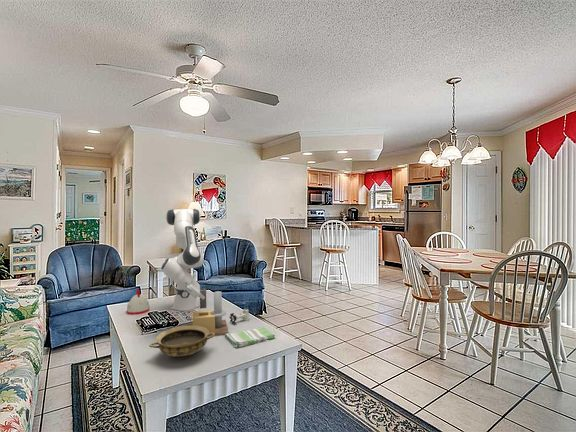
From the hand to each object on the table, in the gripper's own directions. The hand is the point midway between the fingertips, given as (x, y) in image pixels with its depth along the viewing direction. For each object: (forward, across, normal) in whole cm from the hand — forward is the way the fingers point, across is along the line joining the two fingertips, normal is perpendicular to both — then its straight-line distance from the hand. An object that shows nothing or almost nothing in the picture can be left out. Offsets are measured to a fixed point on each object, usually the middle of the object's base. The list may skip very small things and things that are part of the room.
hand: (204, 297), depth 179 cm
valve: (+29, +8, -2) cm, 30 cm away
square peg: (+4, 0, +5) cm, 6 cm away
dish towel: (+31, -18, -2) cm, 36 cm away
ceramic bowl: (+6, -28, +21) cm, 36 cm away
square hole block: (+15, 0, +10) cm, 18 cm away
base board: (+14, 0, +13) cm, 19 cm away
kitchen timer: (-17, +48, +45) cm, 68 cm away
